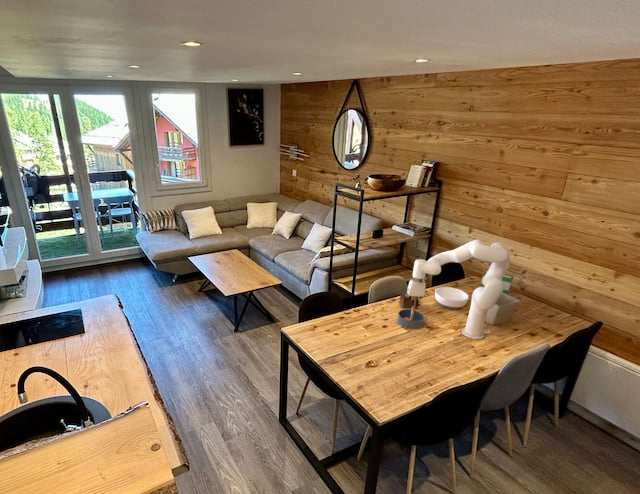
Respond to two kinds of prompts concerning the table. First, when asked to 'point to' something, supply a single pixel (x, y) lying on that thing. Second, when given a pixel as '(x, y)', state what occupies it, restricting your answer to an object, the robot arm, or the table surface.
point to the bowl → (451, 298)
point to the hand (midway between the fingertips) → (413, 305)
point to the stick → (413, 309)
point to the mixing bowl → (417, 318)
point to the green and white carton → (506, 281)
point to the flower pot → (502, 309)
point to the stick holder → (405, 301)
